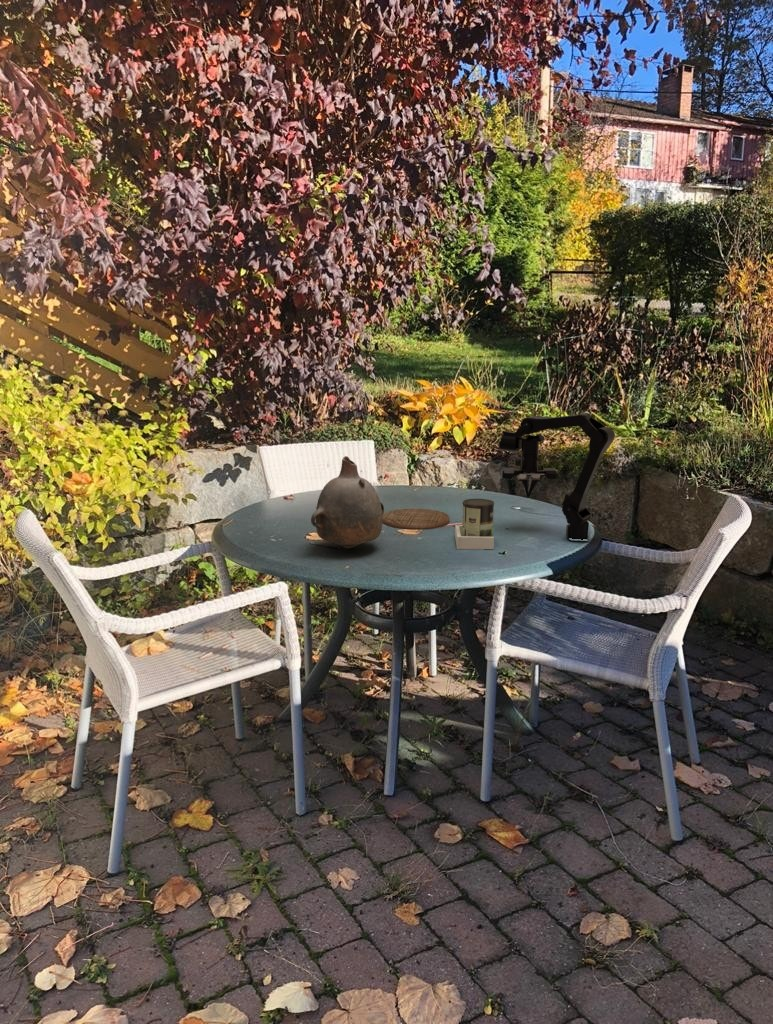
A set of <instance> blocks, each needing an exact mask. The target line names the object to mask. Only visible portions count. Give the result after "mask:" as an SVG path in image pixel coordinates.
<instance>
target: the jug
mask: <svg viewBox="0 0 773 1024" xmlns="http://www.w3.org/2000/svg"><path fill="white" fill-rule="evenodd" d="M340 468H341V469H340V471H339V474H338V476H337V477H334V478H332V479H330V480H329V481H328V482H327V483H325V485H324V487H323V488H322V490H321V492H320V494H319V495H318V499H317V504H316V510H315V511H314V512H313V513H312V515H311V518H310V522H311V523H310V524H311V525H312V526H313V527H315V528H316V532H317V536H318V537H319V538H320V539H321V540H324V541H326V542H328V543H331V544H335V545H339V546H341V547H343V548H345V549H347V550H349V549H352V548H355V547H357V546H360V545H362V544H364V543H371V542H373V541H375V540H376V539H378V538H379V537H380V535H381V532H382V529H383V528H382V527H383V522H382V516H383V514H384V513H385V508H384V507H385V506H384V504H383V503H382V502H381V500H380V498H379V495H378V492H377V490H376V488H375V487H374V486H373V484H372V483H371V482H369V480H367V479H366V478H364V477H361V476H360V474H359V472H358V471H359V470H358V466H357V464H356V463H355V462H354V461H353V460H351V458H350V457H348V456H347V455H345V456H343V457H342V459H341V466H340Z"/></svg>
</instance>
